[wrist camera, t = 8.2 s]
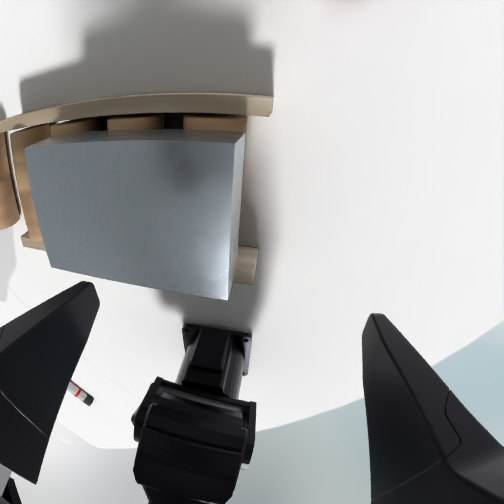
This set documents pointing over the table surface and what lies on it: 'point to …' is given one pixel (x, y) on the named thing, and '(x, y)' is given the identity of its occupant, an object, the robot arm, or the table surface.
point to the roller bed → (149, 117)
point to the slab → (142, 206)
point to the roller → (6, 190)
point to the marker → (80, 393)
